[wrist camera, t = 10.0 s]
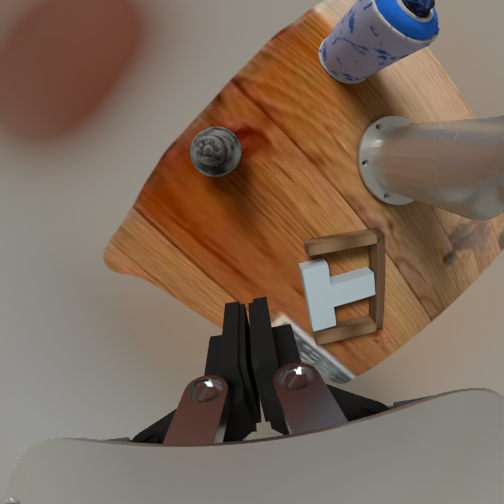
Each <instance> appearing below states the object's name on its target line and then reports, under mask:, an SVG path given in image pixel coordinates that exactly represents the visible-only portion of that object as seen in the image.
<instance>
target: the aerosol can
mask: <svg viewBox="0 0 504 504" xmlns="http://www.w3.org/2000/svg"><path fill="white" fill-rule="evenodd" d="M434 5H435V2H434V0H357V1H356V3H355V4H354V5H353V6H352V7H351V9H350V10H349V11H348V12H347V13H346V15H345V16H344V17H343V18H342V19H341V21H340V22H339V23H338V24H337V26H336V27H335V28H334V29H333V31H332V32H331V33H330V35H329V36H328V37H327V38H325V39H324V40H323V41H322V43H321V45H320V47H319V54H318V56H319V60H320V63H321V65H322V66H323V68H324V70H325V71H326V72H327V73H328V74H329V75H330V76H331V77H333V78H334V79H336V80H338V81H340V82H344V83H347V84H357V83H359V82H362V81H364V80H366V79H367V78H368V77H369V76H370V75H372V74H374V73H376V72H378V71H379V70H381V69H383V68H385V67H387V66H389V65H391V64H393V63H394V62H396V61H398V60H400V59H402V58H404V57H406V56H408V55H410V54H412V53H414V52H416V51H418V50H420V49H422V48H424V47H426V46H429V45H430V44H431V43H432V42H433V41H434V40H435V39H436V38H437V36H438V32H439V20H438V17H437V13H436V11H435V8H434Z"/></svg>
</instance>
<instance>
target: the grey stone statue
mask: <svg viewBox="0 0 504 504" xmlns="http://www.w3.org/2000/svg"><path fill="white" fill-rule="evenodd" d="M190 157H191V160H192V163H193V164H194V166H195V168H196V169H197V170H198V171H199V172H201V173H203V174H204V175H207V176H211V177H219V176H223V175H226V174H228V173H230V172H231V171H232V170H233V169H234V168H235V167H236V166H237V164H238V163H239V161H240V157H241V145H240V142H239V140H238V138H237V136H236V135H235V134H234V133H233V132H232V131H230V130H228V129H226V128H223V127H210V128H206V129H204V130H203V131H201V132H200V133H199V134H198V135H197V136H196V137H195V138H194V140H193V142H192V144H191V148H190Z"/></svg>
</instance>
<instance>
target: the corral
mask: <svg viewBox="0 0 504 504" xmlns="http://www.w3.org/2000/svg"><path fill="white" fill-rule="evenodd" d="M303 242H304V249H305V250H306V252H307V253H308V255H309V256H312V255H317V254H323V253H328V252H334V251H339V250H345V249H350V248H355V247H361V246H366V245H369V269H370V270H371V271H372V272H373V273H374V281H375V295H373V296H369V315H368V316H364V317H359V318H355V319H351V320H347V321H342V322H338V323H336V326H332V327H329V328H325V329H322V330H318V331H314V332H313V336H314V339H315V341H316V344H317V345H320V344H325V343H330V342H334V341H338V340H343V339H347V338H351V337H355V336H359V335H363V334H367V333H371V332H374V331H378V330H382V329H383V314H384V291H385V236H384V233H383V232H381V231H380V230H378V229H376V228H372V229H366V230H360V231H354V232H348V233H343V234H337V235H331V236H325V237H319V238H314V239H308V240H303ZM312 331H313V329H312Z"/></svg>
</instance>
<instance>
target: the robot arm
mask: <svg viewBox="0 0 504 504" xmlns="http://www.w3.org/2000/svg"><path fill="white" fill-rule="evenodd" d="M376 126H377V129H376ZM363 161H364V165H363V164H362V162H363ZM357 163H358V169H359V173H360V176H361V178H362V180H363V183H364V184H365V186H366V187H367V189H368V190H369V191H370V192H371V193H372V194H373V195H374V196H375V197H377V198H378V199H380V200H382V201H384V202H386V203H389V204H392V205H405V204H409V203H411V202H413V201H415V200H416V201H419V202H423V203H426V204H428V205H431V206H434V207H437V208H440V209H443V210H446V211H448V212H451V213H454V214H457V215H460V216H462V217H465V218H468V219H472V220H477V221H483V220H489V219H492V218H494V217H496V216H498V215H500V214H501V213H503V212H504V116H499V117H490V118H479V119H464V120H453V121H440V122H429V123H420V124H415V123H414V122H412V121H411V120H409V119H407V118H404V117H401V116H386V117H382V118H380V119H378V120H376V121H374V122H373V123H371V124H370V125H369V126H368V127H367V129H366V130H365V131H364V132H363V135H362V137H361V139H360V141H359V145H358V151H357ZM384 194H385V197H384ZM248 305H249V322H248V318H247V313H246V308H245V304H241V305H240V304H239V301H238V302H232V303H226V304H225V311H224V322H223V333H222V335H219V336H211V337H210V341H209V348H208V354H207V361H206V368H205V374H204V376H202V377H198V378H196V379H195V380H193V381H191V382H190V383H189V384H188V385H187V386H186V388H185V390H184V392H183V395H182V397H181V400H180V402H179V405H178V407H177V409H175V410H174V411H172V412H171V413H169V414H168V415H166V416H165V417H163V418H162V419H160V420H159V421H157V422H156V423H154V424H153V425H151V426H149V427H148V428H147V429H145V430H143V431H142V432H140V433H139V434H138V435H136V436H135V437H134V438H133V440H130V439H129V437H125V438H117V439H107V440H97V439H86V438H55V439H48V440H44V441H41V442H38V443H35V444H33V445H32V446H31V447H29V448H28V449H27V451H26V452H25V453H24V454H23V456H22V457H21V459H20V460H19V462H18V463H17V465H16V467H15V469H14V471H13V472H12V474H11V476H10V478H9V481H8V483H7V485H6V487H5V489H4V491H3V494H2V497H1V499H0V504H504V397H503V396H502V395H500V394H498V393H497V392H495V391H493V390H490V389H486V388H470V389H461V390H454V391H449V392H445V393H441V394H437V395H433V396H428V397H423V398H417V399H412V400H406V401H399V402H394V404H393V406H386V405H385V404H382V403H380V402H378V401H374V400H371V399H368V398H365V397H362V396H359V395H356V394H353V393H350V392H347V391H344V390H341V389H339V388H336V387H333V386H330V385H327V384H325V382H324V380H323V379H322V377H321V375H320V373H319V372H318V370H317V369H316V368H315V367H314V366H312V365H310V364H307V363H301V360H300V356H299V352H298V349H297V345H296V341H295V338H294V334H293V331H292V327H291V324H288V325H282V326H277V327H271V321H270V316H269V310H268V304H267V298H266V297H262V298H256V299H253V303H248ZM249 324H250V327H249ZM259 397H260V398H259ZM260 401H261V404H262V408H263V413H264V417H265V420H266V422H268V421H270V423H271V428H272V429H274V430H276V431H278V432H280V433H282V434H283V436H276V437H269V438H262V439H254V440H246V437H247V436H248V435H249V434H250V433H251V432H254V431H257V430H256V423H261V411H260Z"/></svg>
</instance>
